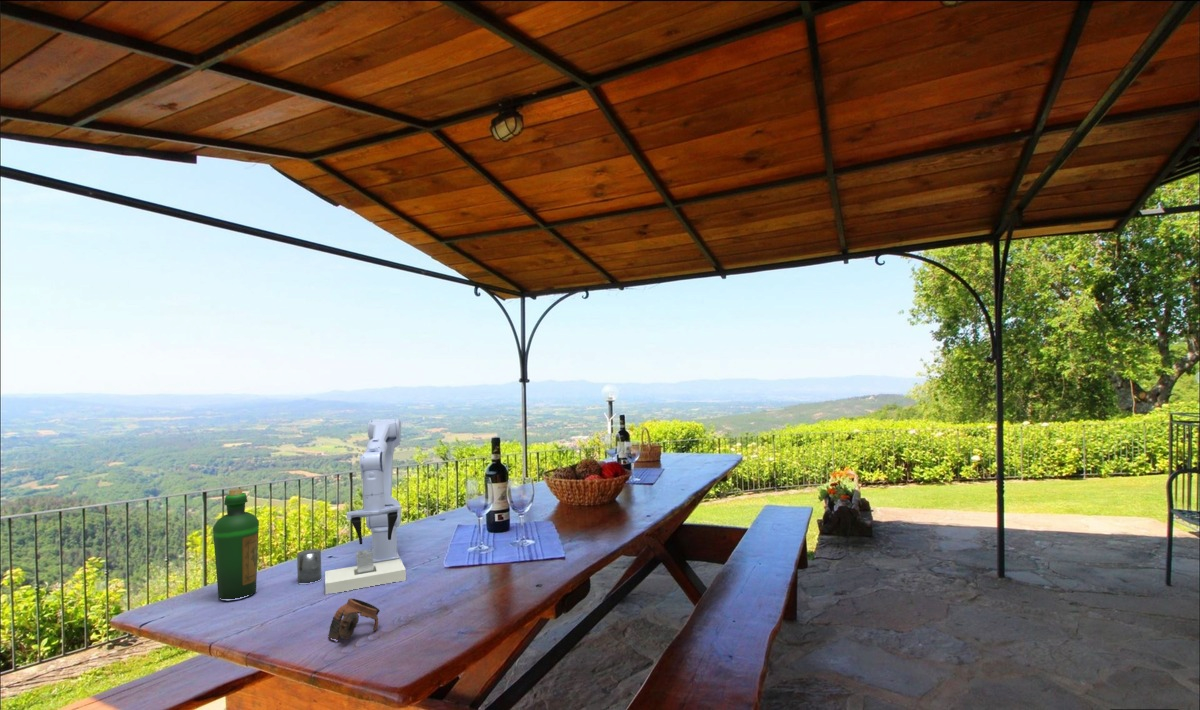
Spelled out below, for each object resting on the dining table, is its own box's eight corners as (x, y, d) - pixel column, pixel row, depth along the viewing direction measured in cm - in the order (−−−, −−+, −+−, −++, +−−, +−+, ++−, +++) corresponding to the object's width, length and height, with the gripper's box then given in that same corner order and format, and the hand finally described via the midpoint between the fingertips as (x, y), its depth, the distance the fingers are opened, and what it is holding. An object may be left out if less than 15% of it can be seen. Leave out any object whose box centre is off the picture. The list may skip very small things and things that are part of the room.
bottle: (266, 594, 154) (264, 488, 155) (219, 607, 146) (218, 494, 147) (253, 586, 161) (251, 484, 162) (208, 598, 153) (206, 491, 154)
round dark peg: (298, 579, 165) (297, 551, 165) (321, 575, 167) (320, 547, 168) (297, 586, 159) (296, 556, 160) (321, 581, 162) (320, 552, 162)
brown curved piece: (328, 632, 129) (347, 594, 132) (369, 647, 129) (387, 609, 132) (316, 639, 117) (337, 598, 121) (360, 656, 118) (380, 614, 121)
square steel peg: (357, 580, 162) (356, 551, 162) (372, 577, 163) (371, 549, 164) (358, 584, 158) (357, 555, 158) (373, 582, 160) (372, 552, 160)
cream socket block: (325, 582, 162) (325, 571, 162) (400, 569, 170) (400, 558, 170) (325, 595, 151) (325, 583, 151) (406, 580, 159) (405, 569, 160)
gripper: (346, 499, 161) (348, 548, 160) (401, 492, 167) (403, 540, 166) (346, 495, 167) (347, 542, 166) (399, 488, 173) (400, 534, 173)
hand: (375, 541), depth 167 cm, fingers open, 7 cm apart
